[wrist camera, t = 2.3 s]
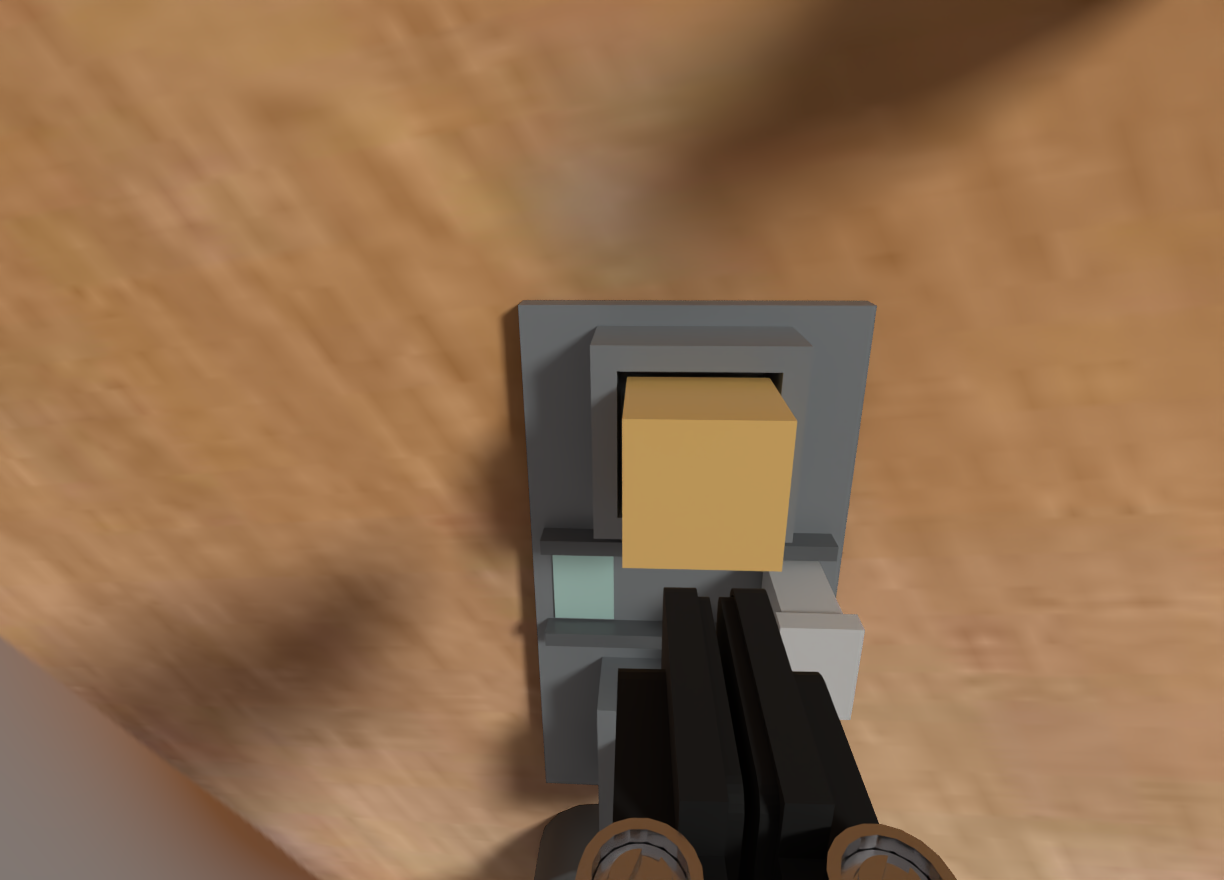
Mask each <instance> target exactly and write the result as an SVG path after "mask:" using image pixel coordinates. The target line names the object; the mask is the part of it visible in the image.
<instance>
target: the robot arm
mask: <svg viewBox="0 0 1224 880" xmlns="http://www.w3.org/2000/svg"><path fill="white" fill-rule="evenodd" d="M575 880H957V879H956V878H955V876H954V874H953V873H952V872H951V871H950V869H949V868H948V867H947V865H946V864H945V863H944V862H943V860H942V859H941V858H940V856H939V855H937V854H936V853H935V852H934V851H933V850H932V849H930V848H929V847H928V846H927V845H926V844H924V843H923V842H922V841H921V840H919V839H917V838H915V837H913V836H912V835H910V834H908V833H906V832H904V831H903V830H900V829H897V828H893V827H890V826H886V825H883V824H879V822H878V820H877V817H876V814H875V812H874V809H873V807H872V804H871V801H870V799H869V796H868V793H867V791H866V788H865V785H864V783H863V780H862V778H861V775H860V772H859V770H858V767H857V764H856V762H855V759H854V756H853V754H852V751H851V749H850V746H849V743H848V741H847V738H846V735H845V733H844V730H843V727H842V725H841V722H840V720H839V717H838V714H837V712H836V709H835V706H834V704H833V701H832V698H831V696H830V693H829V691H828V688H827V685H826V683H825V681H824V679H823V677H822V675H821V674H820V673H819V672H805V671H792V669H791V666H790V663H789V659H788V656H787V653H786V650H785V647H784V644H783V641H782V638H781V634H780V631H779V628H778V625H777V622H776V619H775V616H774V613H773V610H772V606H771V603H770V600H769V597H768V594H767V592H766V590H765V589H757V588H732V589H731V591H730V597H719V599H718V607H717V622H716V630H715V624H714V619H713V613H712V608H711V602H710V598H709V597H698V594H697V589H696V588H681V587H664V589H663V617H662V655H661V669H632V668H618V681H617V709H616V738H615V766H614V795H613V823H612V824H610V825H609V826H607V827H606V828H604V829H602V830H601V831H599V832H598V833H597V834H596V835H595V836H594V838H593V839H592V840H591V841H590V842H589V844H588V845H587V846H586V848H585V850H584V853H583V855H582V858H581V860H580V862H579V865H578V870H577V874H576V878H575Z"/></svg>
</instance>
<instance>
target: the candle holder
mask: <svg viewBox="0 0 1224 880" xmlns="http://www.w3.org/2000/svg"><path fill="white" fill-rule="evenodd" d="M598 832H599V804H594V805H579V806H577V807H574V808H572V809H569V810H566V811H564V812H561V813H559V814H558V815H557V816H556V817H555V818H554V819H553V820H552V821H551V822H549V823H548V824H547V825H546V826H545V829H544V832H543V835H542V839H541V842H540V847H539V853H538V859H537V865H536V871H535V877H534V880H575V878H576V874H577V870H578V865H579V862H580V860H581V858H582V855H583V853H584V850H585V848H586V846H587V845H588V844H589V842H590V841H591V840H592V839H593V838H594V836H595V835H596V834H597V833H598Z"/></svg>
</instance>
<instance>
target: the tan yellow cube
mask: <svg viewBox="0 0 1224 880" xmlns="http://www.w3.org/2000/svg"><path fill="white" fill-rule="evenodd" d="M796 429H797V420H796V418H795V417H794V415H793V413H792V412H791V410H790V409H789V407H788V406H787V404H786V403H785V401H784V399H783V398H782V396H781V395H780V393H779V392H778V390H777V388H776V387H775V385H774V384H773V382H772V381H771V379H770V378H734V377H627V382H626V390H625V399H624V408H623V416H622V568H648V569H692V570H735V571H778V572H782V566H783V556H784V546H785V537H786V527H787V517H788V507H789V498H790V488H791V478H792V468H793V459H794V449H795V439H796Z"/></svg>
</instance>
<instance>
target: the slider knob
mask: <svg viewBox="0 0 1224 880" xmlns="http://www.w3.org/2000/svg"><path fill="white" fill-rule="evenodd" d="M762 589H765V590H766V592H767V594H768V597H769V600H770V603H771V606H772V610H773V613H774V616H775V619H776V622H777V625H778V628H779V631H780V634H781V638H782V641H783V644H784V647H785V650H786V653H787V656H788V659H789V663H790V666H791V669H792V671H805V672H819V673H820V674H821V675H822V677H823V679H824V681H825V683H826V685H827V688H828V691H829V693H830V696H831V698H832V701H833V704H834V706H835V709H836V712H837V714H838V717H839V719H841V720H850V719H851V713H852V706H853V700H854V694H855V688H856V682H857V676H858V670H859V663H860V657H861V651H862V645H863V639H864V633H865V629H864V627H863V625H862V623H861V621H860V619H859V617H858V615H857V614H843V613H842V611H841V608H840V606H839V604H838V602H837V600H836V598H835V595H834V593H833V591H832V589H831V587H830V584H829V582H828V580H827V578H826V576H825V574H824V571H823V569H822V567H821V565H820V563H819V561H794V560H783V566H782V572H778V571H763V578H762Z"/></svg>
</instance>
